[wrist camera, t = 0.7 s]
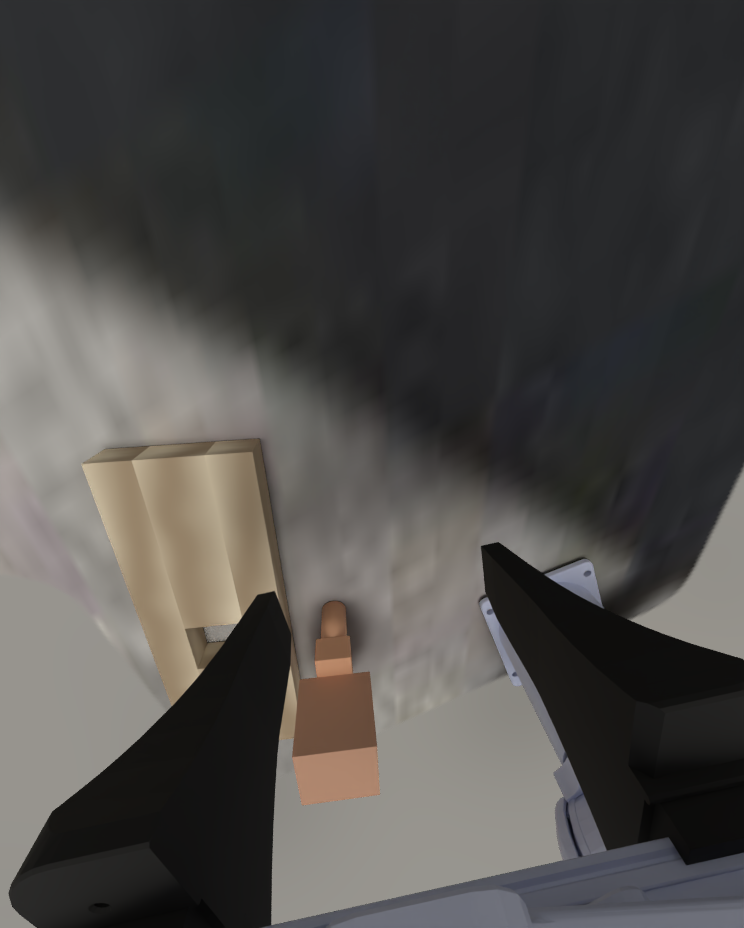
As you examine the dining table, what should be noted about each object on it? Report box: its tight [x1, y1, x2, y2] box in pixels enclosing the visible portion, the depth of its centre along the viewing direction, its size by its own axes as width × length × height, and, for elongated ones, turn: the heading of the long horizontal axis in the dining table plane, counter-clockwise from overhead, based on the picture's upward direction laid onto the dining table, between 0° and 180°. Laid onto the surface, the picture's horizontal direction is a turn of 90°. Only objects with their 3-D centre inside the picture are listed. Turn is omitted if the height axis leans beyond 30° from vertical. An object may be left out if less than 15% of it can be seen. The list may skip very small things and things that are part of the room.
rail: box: [81, 439, 300, 740], centre depth 23 cm, size 8×22×2 cm, turn 2°
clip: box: [292, 601, 380, 805], centre depth 23 cm, size 4×7×8 cm, turn 2°
